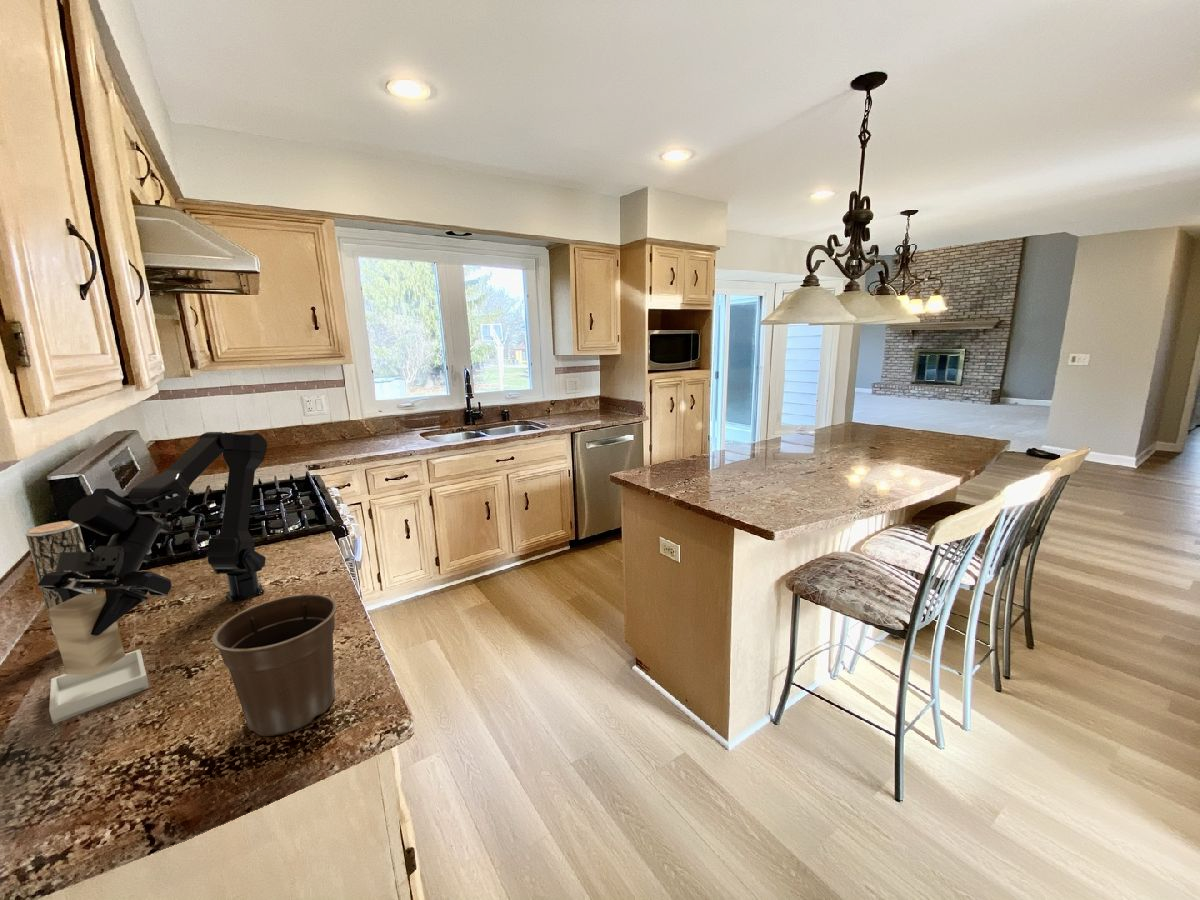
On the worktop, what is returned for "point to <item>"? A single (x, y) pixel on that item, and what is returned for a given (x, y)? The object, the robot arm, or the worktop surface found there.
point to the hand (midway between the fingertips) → (78, 635)
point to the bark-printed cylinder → (53, 553)
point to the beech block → (85, 635)
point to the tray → (96, 687)
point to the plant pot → (281, 661)
